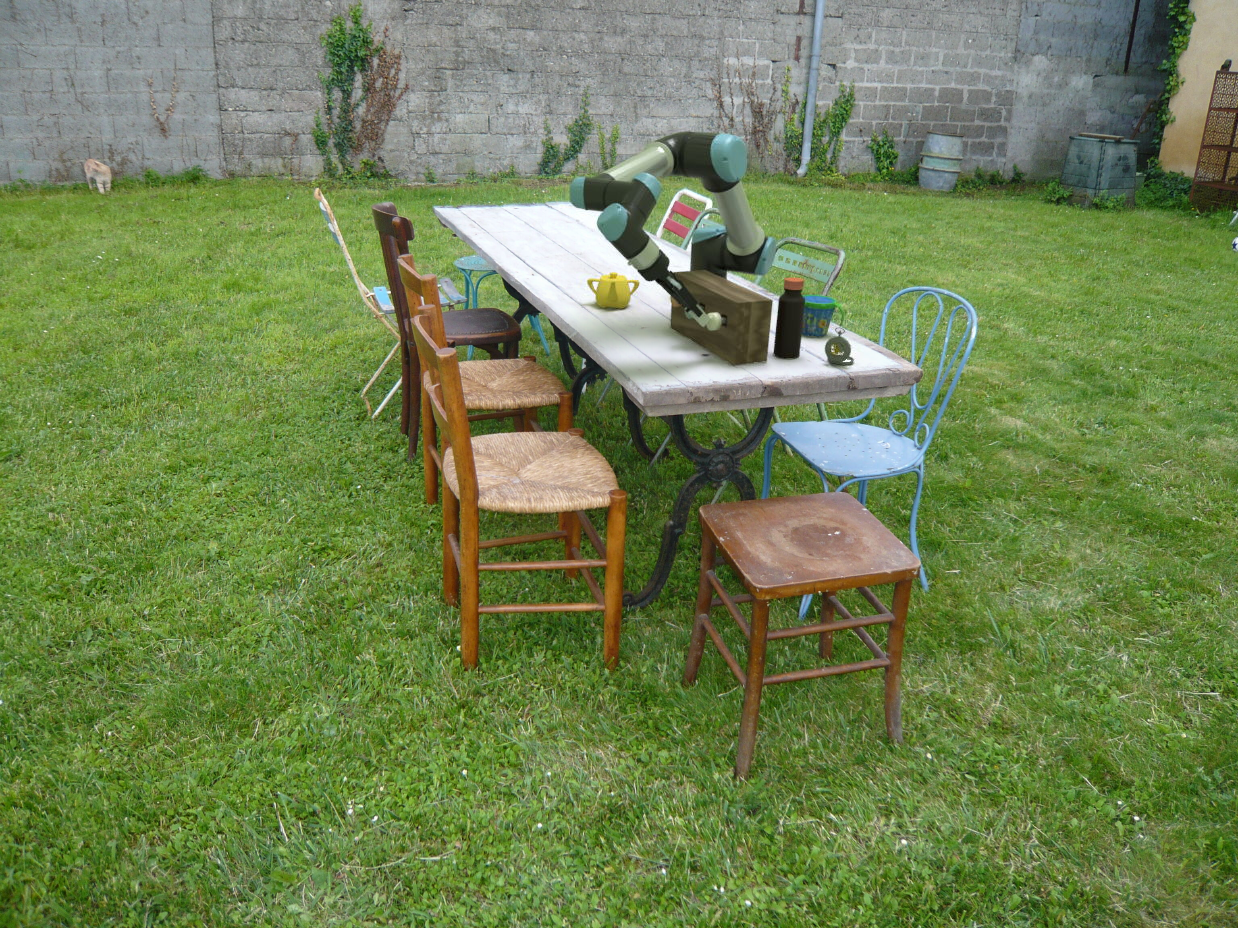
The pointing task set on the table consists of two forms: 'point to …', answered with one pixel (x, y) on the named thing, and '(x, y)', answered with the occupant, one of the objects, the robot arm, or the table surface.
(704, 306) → the teal button
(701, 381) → the table surface
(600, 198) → the robot arm
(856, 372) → the table surface
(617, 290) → the yellow handled pot
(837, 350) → the pocket watch
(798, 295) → the bottle
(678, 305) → the terracotta button
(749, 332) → the console
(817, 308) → the snack cup
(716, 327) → the cream button
